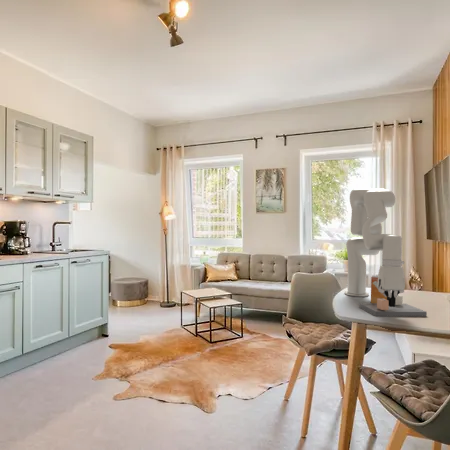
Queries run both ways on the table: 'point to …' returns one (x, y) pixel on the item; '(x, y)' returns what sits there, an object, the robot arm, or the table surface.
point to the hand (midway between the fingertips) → (391, 306)
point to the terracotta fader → (382, 304)
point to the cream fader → (399, 300)
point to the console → (393, 310)
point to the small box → (376, 290)
